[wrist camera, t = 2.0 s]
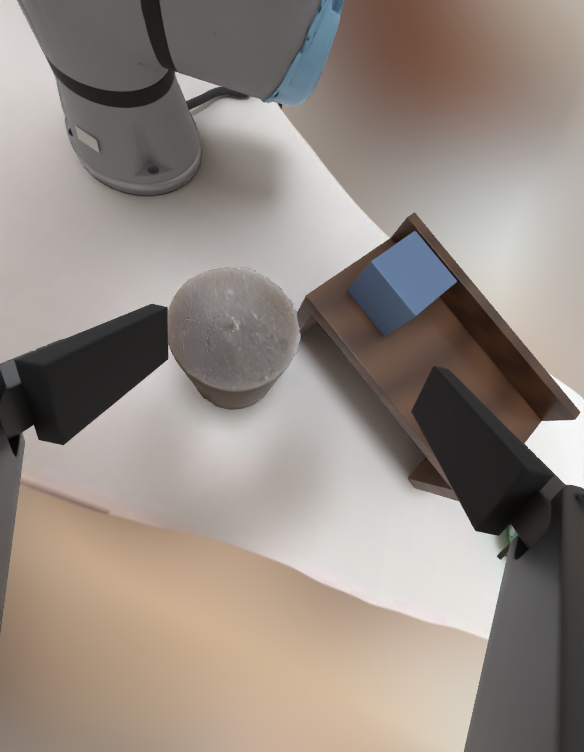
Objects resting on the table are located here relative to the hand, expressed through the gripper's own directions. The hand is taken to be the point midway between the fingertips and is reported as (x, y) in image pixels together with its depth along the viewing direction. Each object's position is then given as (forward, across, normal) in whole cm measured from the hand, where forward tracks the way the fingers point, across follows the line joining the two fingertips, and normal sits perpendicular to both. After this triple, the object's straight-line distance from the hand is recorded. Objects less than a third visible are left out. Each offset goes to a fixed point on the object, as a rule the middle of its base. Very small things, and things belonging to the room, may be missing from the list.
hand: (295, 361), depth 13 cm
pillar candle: (+17, -7, -10) cm, 21 cm away
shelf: (+22, +13, -9) cm, 27 cm away
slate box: (+18, +8, +1) cm, 19 cm away
